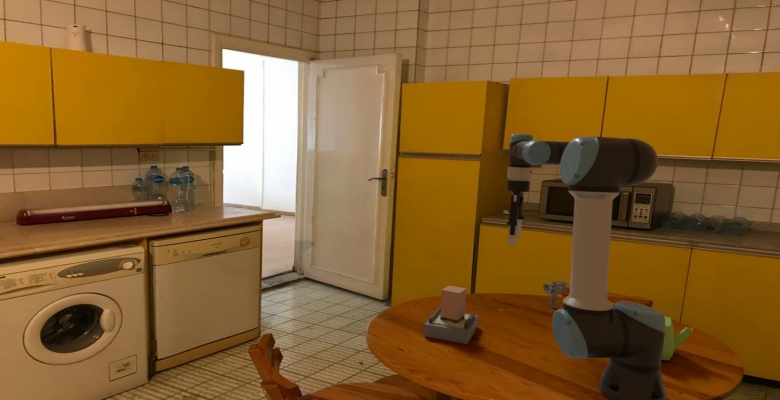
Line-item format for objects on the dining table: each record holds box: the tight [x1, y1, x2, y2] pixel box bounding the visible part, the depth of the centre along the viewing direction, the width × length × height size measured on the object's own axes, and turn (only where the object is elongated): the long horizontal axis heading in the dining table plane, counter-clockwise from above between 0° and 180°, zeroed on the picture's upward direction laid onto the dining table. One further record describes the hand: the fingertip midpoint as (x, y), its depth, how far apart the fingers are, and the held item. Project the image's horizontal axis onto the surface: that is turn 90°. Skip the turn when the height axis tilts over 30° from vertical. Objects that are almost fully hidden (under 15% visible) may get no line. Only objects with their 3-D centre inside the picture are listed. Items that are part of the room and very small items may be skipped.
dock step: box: [423, 306, 479, 345], centre depth 166 cm, size 16×14×6 cm
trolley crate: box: [440, 285, 467, 323], centre depth 165 cm, size 6×6×10 cm
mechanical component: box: [542, 280, 568, 309], centre depth 193 cm, size 3×10×10 cm, turn 115°
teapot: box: [662, 315, 694, 361], centre depth 154 cm, size 18×20×13 cm
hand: (514, 240), depth 175 cm, fingers open, 13 cm apart
